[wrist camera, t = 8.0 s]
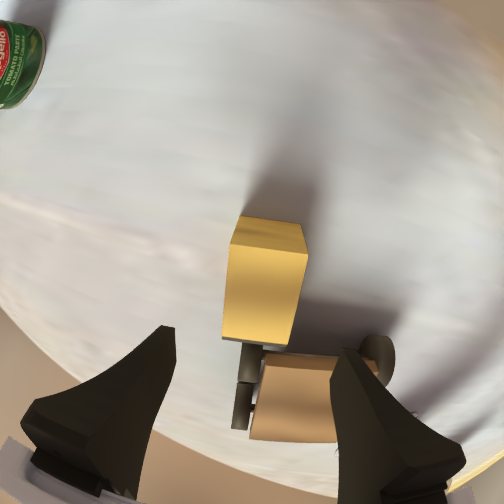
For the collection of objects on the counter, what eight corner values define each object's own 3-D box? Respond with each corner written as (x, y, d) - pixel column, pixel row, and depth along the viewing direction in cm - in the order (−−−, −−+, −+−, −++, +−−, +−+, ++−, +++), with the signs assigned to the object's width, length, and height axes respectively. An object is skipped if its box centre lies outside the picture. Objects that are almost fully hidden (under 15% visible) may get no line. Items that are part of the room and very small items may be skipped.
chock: (283, 307, 22) (285, 351, 18) (230, 300, 22) (220, 343, 18) (300, 223, 19) (308, 254, 15) (239, 215, 20) (229, 243, 15)
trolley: (343, 408, 27) (350, 445, 22) (234, 401, 27) (229, 440, 23) (384, 325, 22) (402, 365, 18) (246, 312, 22) (240, 354, 18)
